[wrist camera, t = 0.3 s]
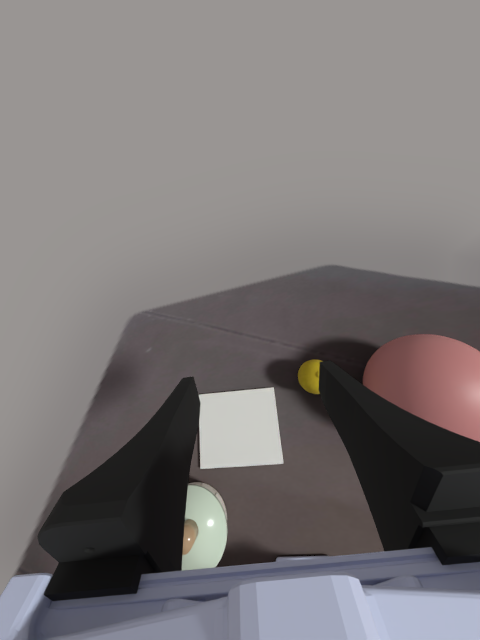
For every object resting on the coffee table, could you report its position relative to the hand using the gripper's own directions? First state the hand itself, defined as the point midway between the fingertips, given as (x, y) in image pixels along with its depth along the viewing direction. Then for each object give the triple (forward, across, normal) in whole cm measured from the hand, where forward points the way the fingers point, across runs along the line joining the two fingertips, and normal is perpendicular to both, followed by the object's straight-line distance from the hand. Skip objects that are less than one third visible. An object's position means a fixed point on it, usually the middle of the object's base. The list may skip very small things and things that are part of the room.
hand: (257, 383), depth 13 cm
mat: (+18, +4, +25) cm, 31 cm away
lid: (+7, +12, +33) cm, 36 cm away
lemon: (+22, -10, +20) cm, 31 cm away
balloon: (+18, -26, +22) cm, 39 cm away
